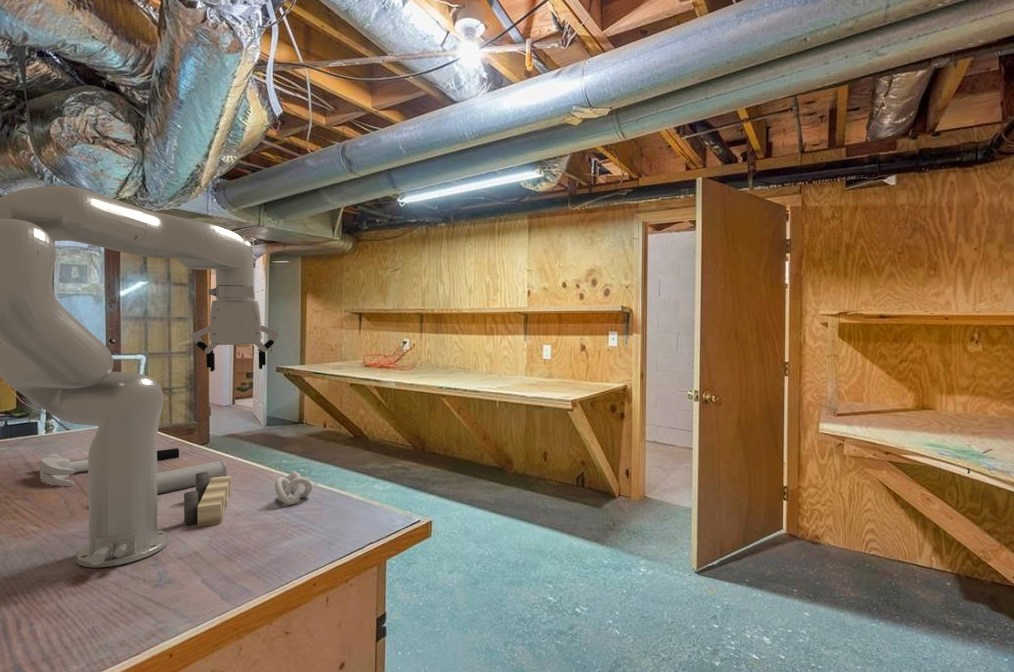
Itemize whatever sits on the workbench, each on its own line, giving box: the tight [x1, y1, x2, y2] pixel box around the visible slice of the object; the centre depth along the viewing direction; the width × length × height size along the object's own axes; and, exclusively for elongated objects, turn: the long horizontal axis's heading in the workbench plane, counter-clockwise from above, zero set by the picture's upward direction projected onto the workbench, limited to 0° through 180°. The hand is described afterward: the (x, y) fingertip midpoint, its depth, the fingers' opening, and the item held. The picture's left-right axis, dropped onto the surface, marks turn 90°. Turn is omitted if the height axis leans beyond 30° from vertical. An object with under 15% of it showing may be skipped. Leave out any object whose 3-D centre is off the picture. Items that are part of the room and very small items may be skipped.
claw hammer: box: [38, 447, 180, 487], centre depth 134 cm, size 6×22×30 cm
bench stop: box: [183, 472, 232, 528], centre depth 106 cm, size 20×7×6 cm, turn 25°
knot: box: [274, 471, 313, 506], centre depth 111 cm, size 8×8×6 cm
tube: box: [157, 459, 228, 495], centre depth 117 cm, size 5×5×25 cm
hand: (237, 369), depth 111 cm, fingers open, 9 cm apart
